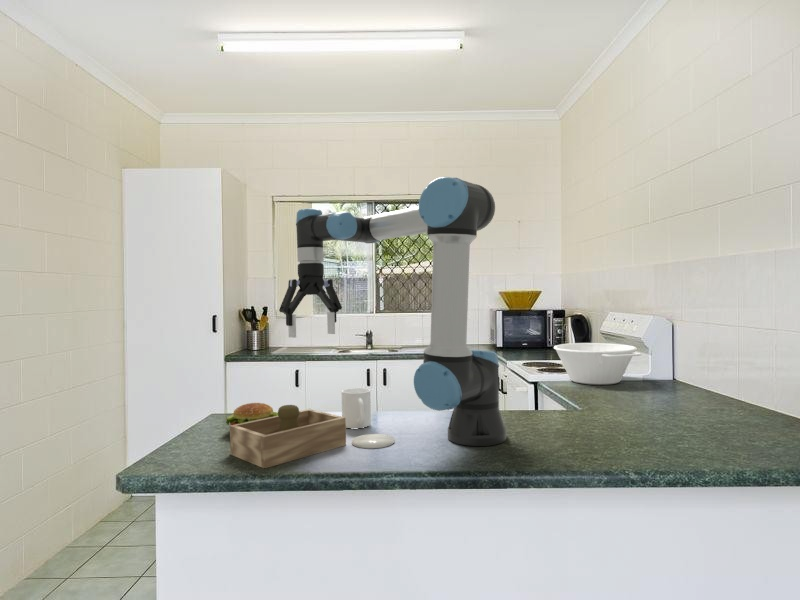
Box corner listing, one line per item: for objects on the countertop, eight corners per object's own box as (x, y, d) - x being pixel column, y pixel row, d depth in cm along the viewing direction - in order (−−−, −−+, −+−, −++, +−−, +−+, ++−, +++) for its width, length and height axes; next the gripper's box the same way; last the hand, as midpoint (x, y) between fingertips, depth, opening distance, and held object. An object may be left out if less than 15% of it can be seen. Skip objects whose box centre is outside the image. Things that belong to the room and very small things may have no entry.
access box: (346, 445, 135) (345, 417, 135) (264, 468, 118) (263, 437, 118) (309, 434, 146) (309, 408, 146) (230, 454, 129) (229, 425, 129)
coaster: (403, 441, 137) (403, 439, 137) (371, 451, 129) (371, 448, 129) (374, 433, 145) (374, 431, 145) (342, 442, 137) (342, 440, 137)
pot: (534, 376, 232) (533, 344, 232) (597, 372, 241) (596, 340, 241) (591, 393, 194) (591, 354, 194) (664, 387, 203) (663, 349, 202)
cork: (278, 446, 135) (277, 403, 135) (303, 445, 135) (302, 402, 135) (275, 454, 129) (274, 408, 129) (300, 452, 129) (299, 407, 129)
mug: (377, 431, 147) (376, 394, 147) (347, 434, 145) (346, 396, 145) (367, 421, 159) (366, 387, 159) (340, 424, 157) (339, 389, 156)
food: (249, 423, 160) (249, 397, 159) (287, 428, 153) (287, 400, 153) (215, 435, 147) (214, 406, 147) (255, 440, 141) (254, 410, 141)
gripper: (337, 264, 167) (338, 332, 167) (265, 262, 150) (267, 338, 150) (352, 263, 161) (353, 333, 162) (279, 261, 144) (282, 339, 145)
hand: (312, 335), depth 156 cm, fingers open, 13 cm apart
